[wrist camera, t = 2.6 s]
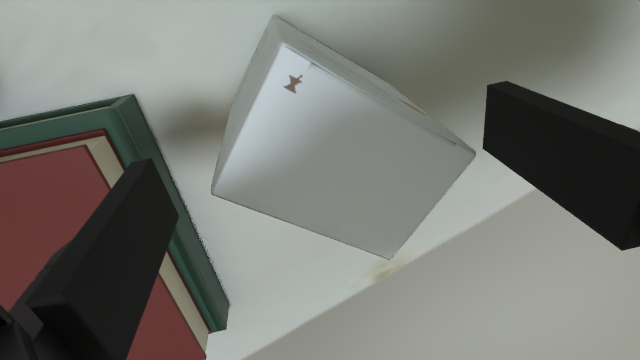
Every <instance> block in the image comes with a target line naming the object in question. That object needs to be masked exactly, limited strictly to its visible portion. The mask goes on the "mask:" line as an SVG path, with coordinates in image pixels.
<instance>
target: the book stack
mask: <svg viewBox="0 0 640 360" xmlns="http://www.w3.org/2000/svg"><path fill="white" fill-rule="evenodd" d="M148 158H152V159H153V161H154V163H155V166H156V168H157V170H158V172H159V174H160V176H161V178H162V180H163V183H164V185H165V187H166V189H167V191H168V193H169V195H170V197H171V200H172V202H173V204H174V206H175V208H176V210H177V212H178V214H179V219H178V222H177V224H176V227H175V230H174V232H173V235H172V238H171V240H170V243H169V246H168V249H167V251H166V254H165V257H164V259H163V262H162V265H161V267H160V270H159V273H158V276H157V278H156V281H155V284H154V286H153V289H152V292H151V294H150V297H149V300H148V303H147V305H146V308H145V311H144V313H143V316H142V319H141V321H140V324H139V327H138V330H137V332H136V335H135V338H134V340H133V343H132V346H131V348H130V351H129V354H128V356H127V359H126V360H206V354H205V350H206V345H207V339H208V334H210V333H213V332H217V331H222V330H226V327H227V318H228V310H229V303H228V301H227V299H226V296H225V294H224V292H223V290H222V288H221V285H220V283H219V281H218V279H217V277H216V274H215V272H214V270H213V268H212V266H211V263H210V261H209V259H208V257H207V255H206V252H205V250H204V248H203V246H202V244H201V241H200V239H199V237H198V235H197V233H196V230H195V228H194V226H193V224H192V222H191V219H190V217H189V215H188V213H187V211H186V208H185V206H184V204H183V202H182V200H181V197H180V195H179V193H178V191H177V189H176V186H175V184H174V182H173V180H172V178H171V175H170V173H169V171H168V169H167V167H166V164H165V162H164V160H163V158H162V156H161V153H160V151H159V149H158V147H157V145H156V142H155V140H154V138H153V136H152V134H151V131H150V129H149V127H148V125H147V123H146V120H145V118H144V116H143V114H142V112H141V109H140V107H139V105H138V103H137V101H136V98H135V96H134V94H132V95H128V96H123V97H118V98H113V99H108V100H103V101H99V102H94V103H89V104H84V105H79V106H74V107H70V108H65V109H60V110H55V111H50V112H45V113H41V114H36V115H31V116H26V117H21V118H16V119H12V120H7V121H2V122H0V305H1V306H2V307H3V308H4V309H5V310H6V311H7V312H8V311H9V310H10V309H11V307H12V306H13V305H14V304H15V302H16V301H17V300H18V298H19V297H20V296H21V295H22V293H23V292H24V291H25V290H26V288H27V287H28V286H29V285H30V283H31V282H32V281H35V277H36V276H37V274H38V273H39V272H40V271H41V270H42V269H44V266H45V264H46V263H47V262H48V261H49V259H50V258H51V257H52V255H53V254H54V253H55V252H57V251H58V250H59V249H60V248H61V247H63V246H64V245H65V244H66V243H68V242H69V241H70V240H73V238H74V237H75V236H76V234H77V233H78V232H79V230H80V229H81V228H82V226H83V225H84V224H85V223H86V221H87V220H88V219H89V217H90V216H91V215H92V213H93V212H94V211H95V209H96V208H97V207H98V205H99V204H100V203H101V202H102V200H103V199H104V198H105V196H106V195H107V194H108V192H109V191H110V190H111V188H112V187H113V186H114V184H115V183H116V182H117V180H118V179H119V178H120V177H121V175H122V174H123V173H124V171H125V170H126V169H127V167H128V166H129V165H130V163H131V162H135V161H139V160H144V159H148Z"/></svg>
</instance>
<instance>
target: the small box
mask: <svg viewBox="0 0 640 360" xmlns="http://www.w3.org/2000/svg"><path fill="white" fill-rule="evenodd" d="M475 156H476V152H475V151H474V150H473V149H472V148H471V147H470V146H468V145H467V144H466V143H464V142H463V141H462V140H461V139H459V138H458V137H457V136H456V135H454V134H453V133H452V132H451V131H449V130H448V129H447V128H445V127H444V126H443V125H441V124H440V123H439V122H438V121H436V120H435V119H434V118H432V117H431V116H430V115H429V114H427V113H426V112H425V111H423V110H422V109H421V108H419V107H418V106H417V105H416V104H414V103H413V102H412V101H410V100H409V99H408V98H407V97H405V96H404V95H403V94H402V93H400V92H399V91H398V90H397V89H395V88H394V87H393V86H392V85H390V84H389V83H387V82H386V81H384V80H382V79H380V78H379V77H377V76H375V75H374V74H372V73H370V72H369V71H367V70H365V69H363V68H362V67H360V66H358V65H357V64H355V63H353V62H352V61H350V60H348V59H346V58H345V57H343V56H341V55H340V54H338V53H336V52H335V51H333V50H331V49H330V48H328V47H326V46H325V45H323V44H321V43H320V42H318V41H316V40H314V39H313V38H311V37H309V36H308V35H306V34H304V33H303V32H301V31H299V30H298V29H296V28H294V27H292V26H291V25H289V24H287V23H286V22H284V21H283V20H281V19H279V18H278V17H276V16H272V17H271V19H270V21H269V23H268V25H267V28H266V30H265V32H264V34H263V36H262V38H261V40H260V43H259V45H258V47H257V49H256V51H255V53H254V55H253V58H252V60H251V62H250V64H249V67H248V69H247V71H246V73H245V75H244V78H243V80H242V82H241V84H240V86H239V89H238V91H237V93H236V95H235V97H234V100H233V102H232V105H231V109H230V113H229V117H228V121H227V125H226V129H225V133H224V137H223V141H222V145H221V149H220V153H219V157H218V160H217V164H216V168H215V172H214V176H213V181H212V185H211V194H212V195H214V196H217V197H220V198H222V199H225V200H228V201H231V202H233V203H236V204H239V205H241V206H244V207H247V208H250V209H252V210H255V211H258V212H260V213H263V214H266V215H269V216H272V217H274V218H277V219H280V220H283V221H286V222H288V223H291V224H294V225H297V226H299V227H302V228H305V229H307V230H310V231H313V232H315V233H318V234H321V235H324V236H326V237H329V238H332V239H335V240H337V241H340V242H343V243H345V244H348V245H351V246H353V247H356V248H359V249H362V250H364V251H367V252H370V253H372V254H375V255H378V256H381V257H383V258H386V259H388V260H389V259H391V258H392V257H393V256H394V255H395V254H396V252H397V251H398V250H399V249H400V248H401V247H402V246H403V244H404V243H405V242H406V241H407V240H408V238H409V237H410V236H411V235H412V233H413V232H414V231H415V230H416V228H417V227H418V226H419V225H420V224H421V222H422V221H423V220H424V219H425V218H426V216H427V215H428V214H429V213H430V211H431V210H432V209H433V208H434V207H435V205H436V204H437V203H438V202H439V200H440V199H441V198H442V197H443V196H444V194H445V193H446V192H447V191H448V189H449V188H450V187H451V186H452V185H453V183H454V182H455V181H456V180H457V178H458V177H459V176H460V175H461V173H462V172H463V171H464V170H465V169H466V167H467V166H468V165H469V164H470V163H471V161H472V160H473V159H474V158H475Z"/></svg>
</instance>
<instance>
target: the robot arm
mask: <svg viewBox="0 0 640 360" xmlns="http://www.w3.org/2000/svg"><path fill="white" fill-rule="evenodd" d="M483 149H484V150H485V151H487V152H488V153H490V154H491V155H492V156H494V157H495V158H496V159H498V160H499V161H500V162H502V163H503V164H505V165H506V166H507V167H509V168H510V169H511V170H513V171H514V172H515V173H517V174H518V175H520V176H521V177H522V178H524V179H525V180H526V181H528V182H529V183H530V184H532V185H533V186H535V187H536V188H537V189H539V190H540V191H541V192H543V193H544V194H545V195H547V196H548V197H550V198H551V199H552V200H554V201H555V202H556V203H558V204H559V205H560V206H562V207H563V208H565V209H566V210H567V211H569V212H570V213H571V214H573V215H574V216H575V217H577V218H578V219H579V220H581V221H582V222H584V223H585V224H586V225H588V226H589V227H590V228H592V229H593V230H594V231H596V232H597V233H599V234H600V235H601V236H603V237H604V238H605V239H607V240H608V241H610V242H611V243H612V244H614V245H615V246H617V247H618V248H619V249H620V250H626V249H630V248H635V247H639V246H640V132H639V131H637V130H634V129H631V128H629V127H626V126H624V125H620V124H617V123H615V122H612V121H609V120H607V119H604V118H602V117H599V116H596V115H594V114H591V113H589V112H586V111H583V110H581V109H578V108H575V107H573V106H570V105H568V104H565V103H562V102H560V101H557V100H555V99H552V98H549V97H547V96H544V95H542V94H539V93H536V92H534V91H531V90H529V89H526V88H523V87H521V86H518V85H516V84H513V83H510V82H508V81H504V82H499V83H495V84H490V85H487V98H486V111H485V125H484V138H483ZM178 219H179V214H178V212H177V210H176V208H175V206H174V204H173V202H172V200H171V197H170V195H169V193H168V191H167V189H166V187H165V185H164V183H163V180H162V178H161V176H160V174H159V172H158V170H157V168H156V166H155V163H154V161H153V159H152V158H148V159H144V160H139V161H135V162H131V163H130V165H129V166H128V167H127V169H126V170H125V171H124V173H123V174H122V175H121V177H120V178H119V179H118V180H117V182H116V183H115V184H114V186H113V187H112V188H111V190H110V191H109V192H108V194H107V195H106V196H105V198H104V199H103V200H102V202H101V203H100V204H99V205H98V207H97V208H96V209H95V211H94V212H93V213H92V215H91V216H90V217H89V219H88V220H87V221H86V223H85V224H84V225H83V226H82V228H81V229H80V230H79V232H78V233H77V234H76V236H75V237H74V238H73V240H70V241H69V242H68V243H66V244H65V245H64V246H63V247H61V248H60V249H59V250H58V251H57V252H55V253H54V254H53V255H52V257H51V258H50V259H49V261H48V262H47V263H46V264H45V266H44V269H42V270H41V271H40V272H39V273H38V274H37V276H36V277H35V281H32V282H31V283H30V285H29V286H28V287H27V288H26V290H25V291H24V292H23V293H22V295H21V296H20V297H19V298H18V300H17V301H16V302H15V304H14V305H13V306H12V307H11V309H10V310H9V311H8V312H7V311H6V310H5V309H4V308H3V307H2V306H1V305H0V360H126V359H127V356H128V354H129V351H130V348H131V346H132V343H133V340H134V338H135V335H136V332H137V330H138V327H139V324H140V321H141V319H142V316H143V313H144V311H145V308H146V305H147V303H148V300H149V297H150V294H151V292H152V289H153V286H154V284H155V281H156V278H157V276H158V273H159V270H160V267H161V265H162V262H163V259H164V257H165V254H166V251H167V249H168V246H169V243H170V240H171V238H172V235H173V232H174V230H175V227H176V224H177V222H178Z"/></svg>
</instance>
